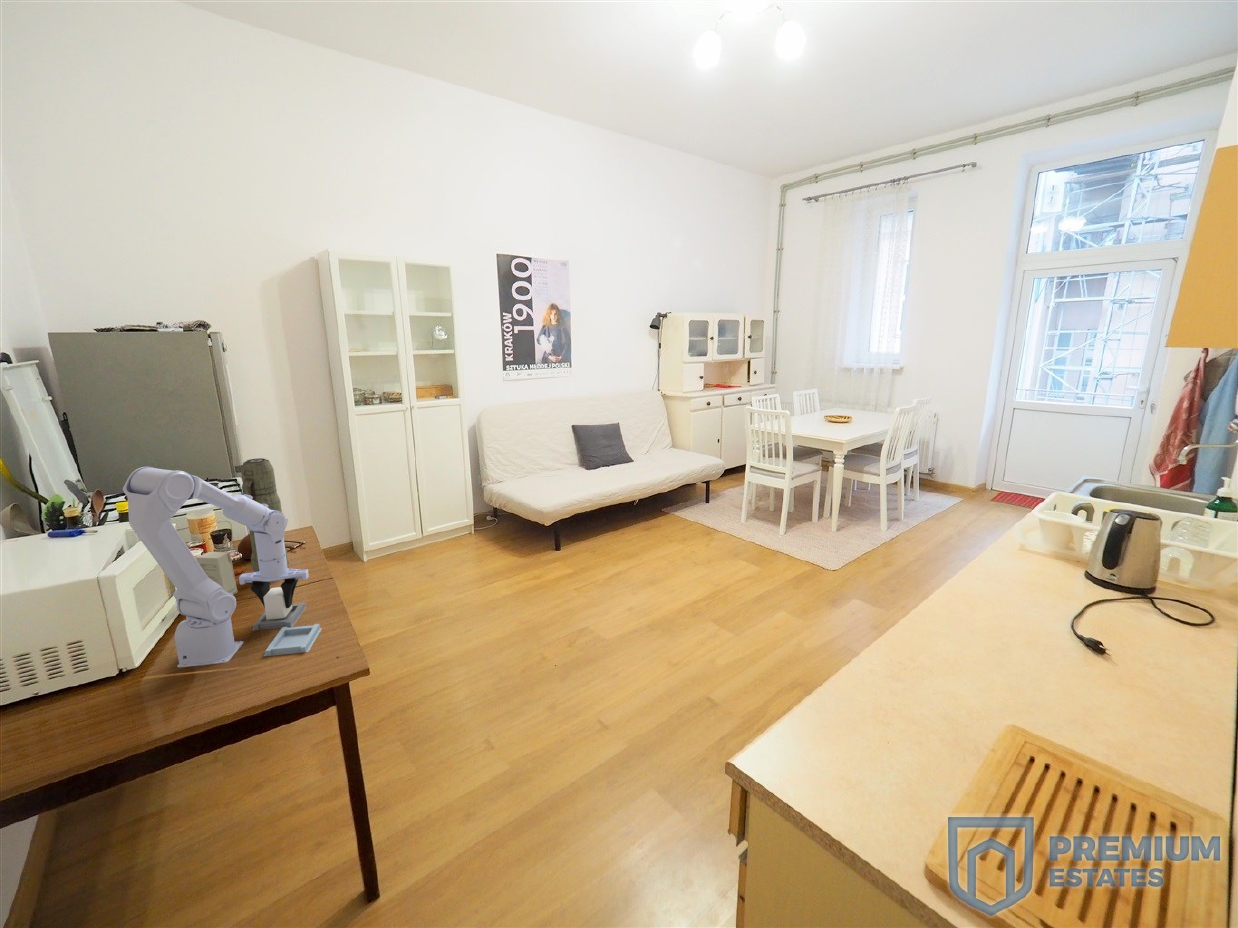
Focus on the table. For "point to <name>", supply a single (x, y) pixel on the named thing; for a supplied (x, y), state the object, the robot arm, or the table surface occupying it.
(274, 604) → the white rectangular block
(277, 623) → the rear socket
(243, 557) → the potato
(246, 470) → the olive tall rounded block
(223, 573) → the skincare box
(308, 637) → the front socket
